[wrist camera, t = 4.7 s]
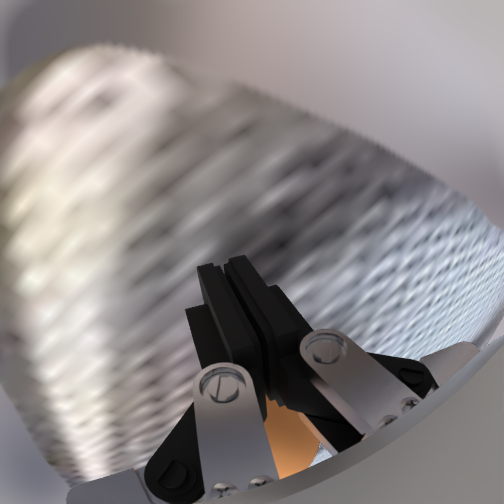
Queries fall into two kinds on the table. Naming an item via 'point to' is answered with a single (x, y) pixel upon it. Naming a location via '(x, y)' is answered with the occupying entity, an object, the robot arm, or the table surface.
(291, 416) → the ball
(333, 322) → the table surface
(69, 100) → the table surface
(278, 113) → the table surface
